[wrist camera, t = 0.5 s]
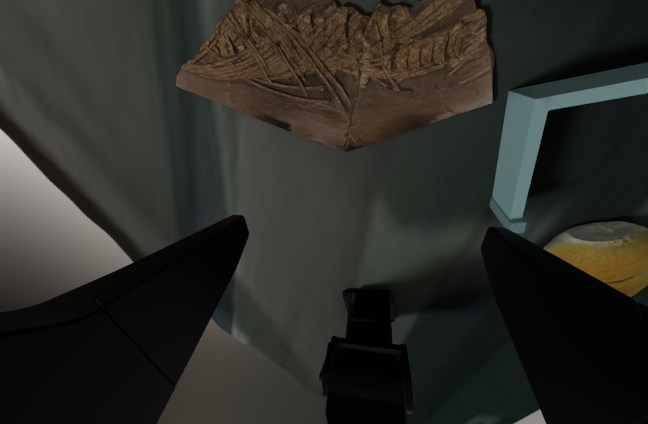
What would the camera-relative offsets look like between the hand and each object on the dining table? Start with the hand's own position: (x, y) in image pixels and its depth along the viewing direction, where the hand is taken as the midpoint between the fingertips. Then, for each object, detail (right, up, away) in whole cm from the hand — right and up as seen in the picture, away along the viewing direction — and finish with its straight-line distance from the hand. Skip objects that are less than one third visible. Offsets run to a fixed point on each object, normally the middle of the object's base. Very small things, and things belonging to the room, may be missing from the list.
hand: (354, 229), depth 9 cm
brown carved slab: (-1, +11, +10) cm, 15 cm away
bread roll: (+24, -3, +15) cm, 29 cm away
